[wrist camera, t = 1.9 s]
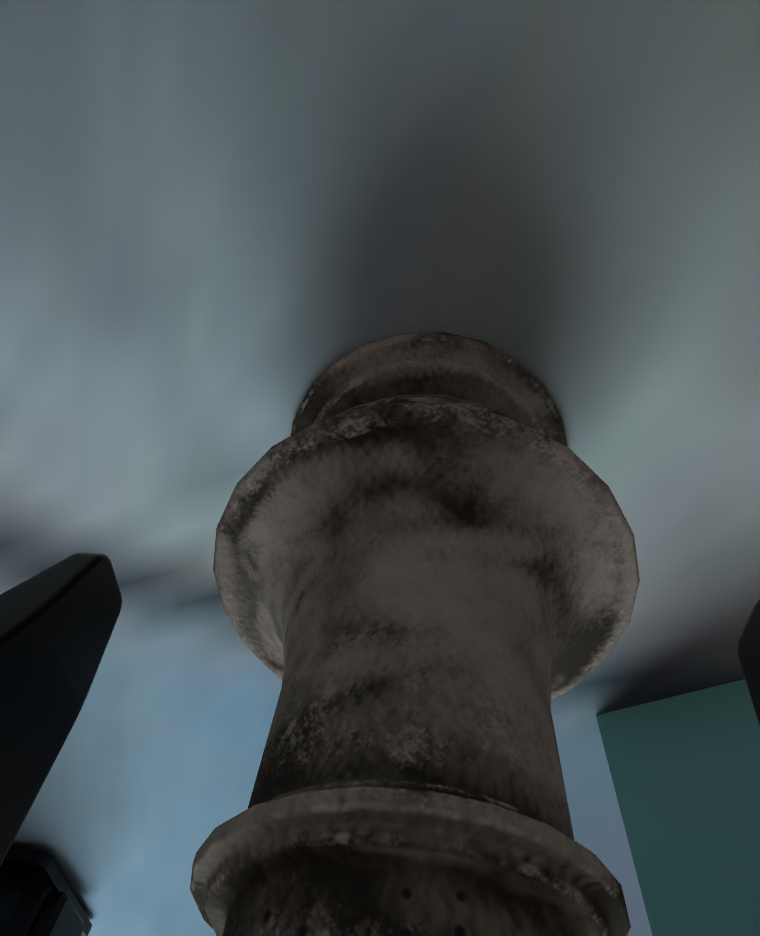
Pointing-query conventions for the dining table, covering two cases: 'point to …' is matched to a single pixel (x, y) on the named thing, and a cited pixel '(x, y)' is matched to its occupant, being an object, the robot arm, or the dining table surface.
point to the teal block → (691, 807)
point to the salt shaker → (418, 655)
